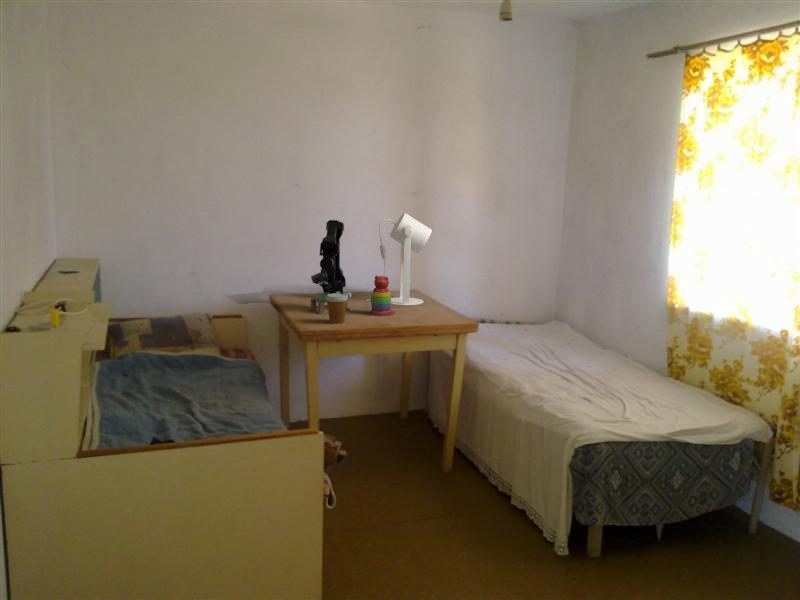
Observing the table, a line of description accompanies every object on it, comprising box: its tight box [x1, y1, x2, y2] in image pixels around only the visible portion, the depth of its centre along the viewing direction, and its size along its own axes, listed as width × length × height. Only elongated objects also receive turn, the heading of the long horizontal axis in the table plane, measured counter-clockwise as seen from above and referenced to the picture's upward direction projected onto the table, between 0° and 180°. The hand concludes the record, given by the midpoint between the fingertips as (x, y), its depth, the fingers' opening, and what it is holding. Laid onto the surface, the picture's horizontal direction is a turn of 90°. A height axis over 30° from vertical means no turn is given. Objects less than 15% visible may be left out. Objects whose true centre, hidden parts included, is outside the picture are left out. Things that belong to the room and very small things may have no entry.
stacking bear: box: [370, 275, 396, 317], centre depth 301 cm, size 11×10×18 cm
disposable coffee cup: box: [326, 293, 349, 325], centre depth 283 cm, size 10×10×12 cm
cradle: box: [307, 298, 351, 315], centre depth 308 cm, size 16×12×5 cm
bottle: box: [315, 292, 352, 304], centre depth 309 cm, size 17×4×4 cm, turn 122°
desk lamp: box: [366, 212, 433, 306], centre depth 327 cm, size 21×32×45 cm, turn 95°
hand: (329, 299), depth 308 cm, fingers closed on bottle, 4 cm apart
